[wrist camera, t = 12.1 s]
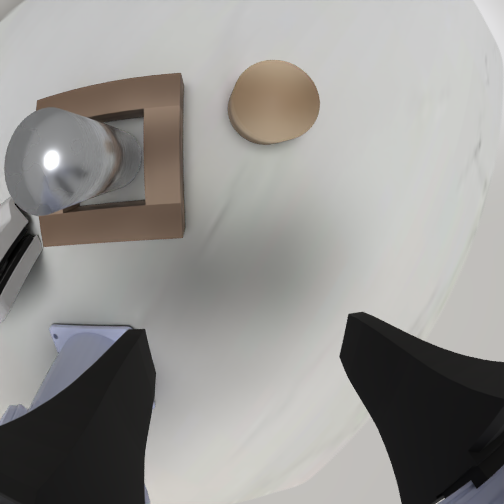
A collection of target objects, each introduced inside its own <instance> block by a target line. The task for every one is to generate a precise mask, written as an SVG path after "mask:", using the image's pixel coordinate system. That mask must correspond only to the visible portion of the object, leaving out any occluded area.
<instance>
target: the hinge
mask: <svg viewBox="0 0 504 504" xmlns="http://www.w3.org/2000/svg"><path fill="white" fill-rule="evenodd" d="M27 223H28V220H27V219H26V218H25V217H24V215H23V214H22V213H21V212H20V211H19V209H18V208H17V207H16V206H15V202H14V200H13V199H12V197H9V198H8V199H7V200H5V201H4V202H3V203H2V204H0V323H1V322H2V321H3V320H4V319H5V318H6V317H7V315H8V314H9V312H10V310H11V308H12V306H13V303H14V301H15V299H16V297H17V295H18V293H19V291H20V289H21V287H22V285H23V283H24V281H25V279H26V277H27V276H28V274H29V272H30V270H31V268H32V267H33V265H34V263H35V261H36V260H37V258H38V256H39V254H40V253H41V251H42V245H41V242H40V240H39V238H38V235H37V236H35V237H32V235H29V236H27V237H26V238H24V239H23V240H21V241H20V239H21V238H22V237H23V235H24V234H25V232H26V231H27V230H28V229H27V228H26V226H25V225H26V224H27Z"/></svg>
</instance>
